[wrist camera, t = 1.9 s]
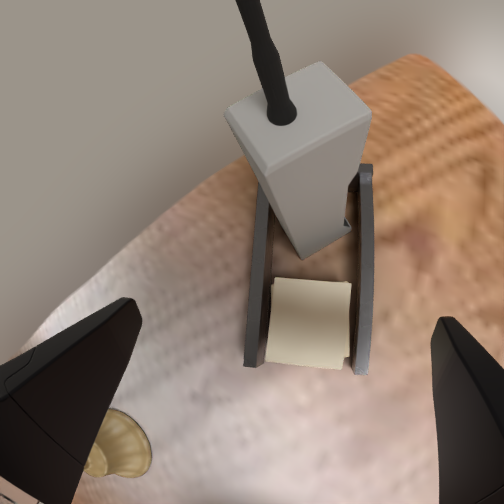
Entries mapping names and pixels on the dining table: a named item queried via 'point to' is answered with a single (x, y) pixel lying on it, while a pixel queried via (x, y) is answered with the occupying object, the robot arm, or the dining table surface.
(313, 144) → the vintage mobile phone
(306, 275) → the dining table surface
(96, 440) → the hand bell
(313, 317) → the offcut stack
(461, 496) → the robot arm
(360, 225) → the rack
